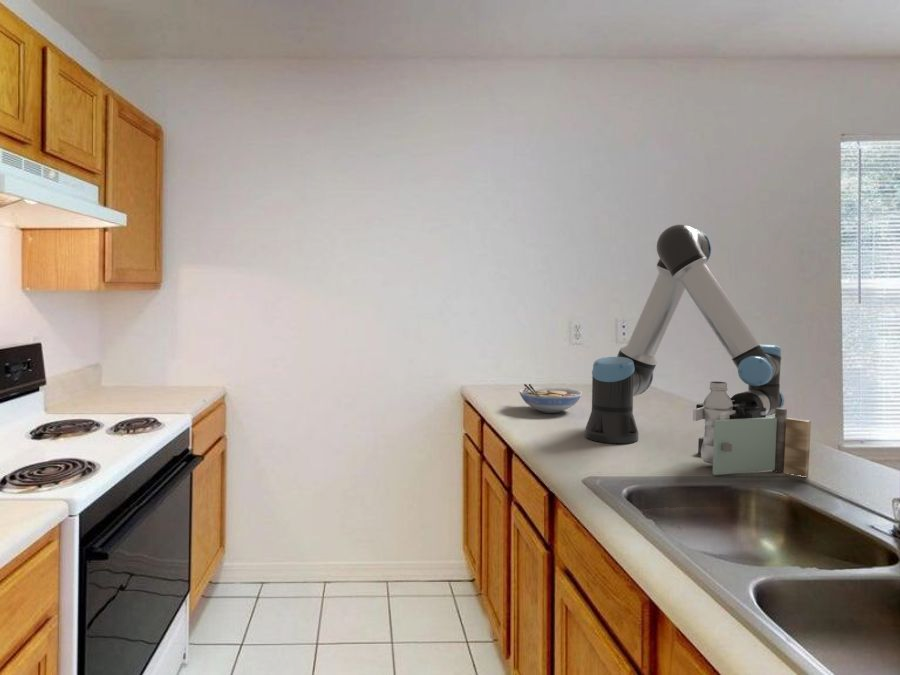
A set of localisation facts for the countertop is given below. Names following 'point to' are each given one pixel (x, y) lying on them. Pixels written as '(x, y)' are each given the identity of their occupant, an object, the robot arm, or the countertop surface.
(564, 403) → the ramen bowl
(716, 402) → the plastic bottle
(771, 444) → the gate
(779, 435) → the brown wooden panel
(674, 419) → the countertop surface
